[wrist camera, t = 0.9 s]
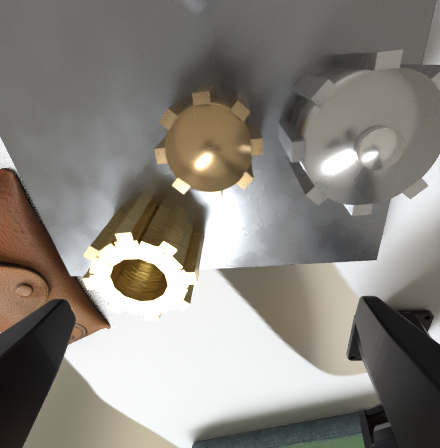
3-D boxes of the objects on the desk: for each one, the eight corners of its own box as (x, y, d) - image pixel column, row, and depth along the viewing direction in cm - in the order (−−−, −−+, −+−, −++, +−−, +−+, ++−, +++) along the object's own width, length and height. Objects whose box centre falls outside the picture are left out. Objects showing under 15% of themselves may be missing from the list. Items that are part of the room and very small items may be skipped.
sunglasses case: (118, 330, 28) (56, 392, 23) (81, 310, 32) (23, 359, 27) (9, 160, 19) (-123, 208, 14) (-22, 162, 23) (-132, 200, 19)
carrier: (369, 250, 21) (416, 316, 16) (77, 266, 24) (30, 329, 18) (452, -147, 11) (663, -346, 6) (-73, -50, 13) (-285, -126, 8)
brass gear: (209, 273, 22) (203, 318, 18) (125, 277, 22) (103, 321, 19) (196, 193, 18) (185, 228, 14) (97, 201, 19) (62, 237, 15)
